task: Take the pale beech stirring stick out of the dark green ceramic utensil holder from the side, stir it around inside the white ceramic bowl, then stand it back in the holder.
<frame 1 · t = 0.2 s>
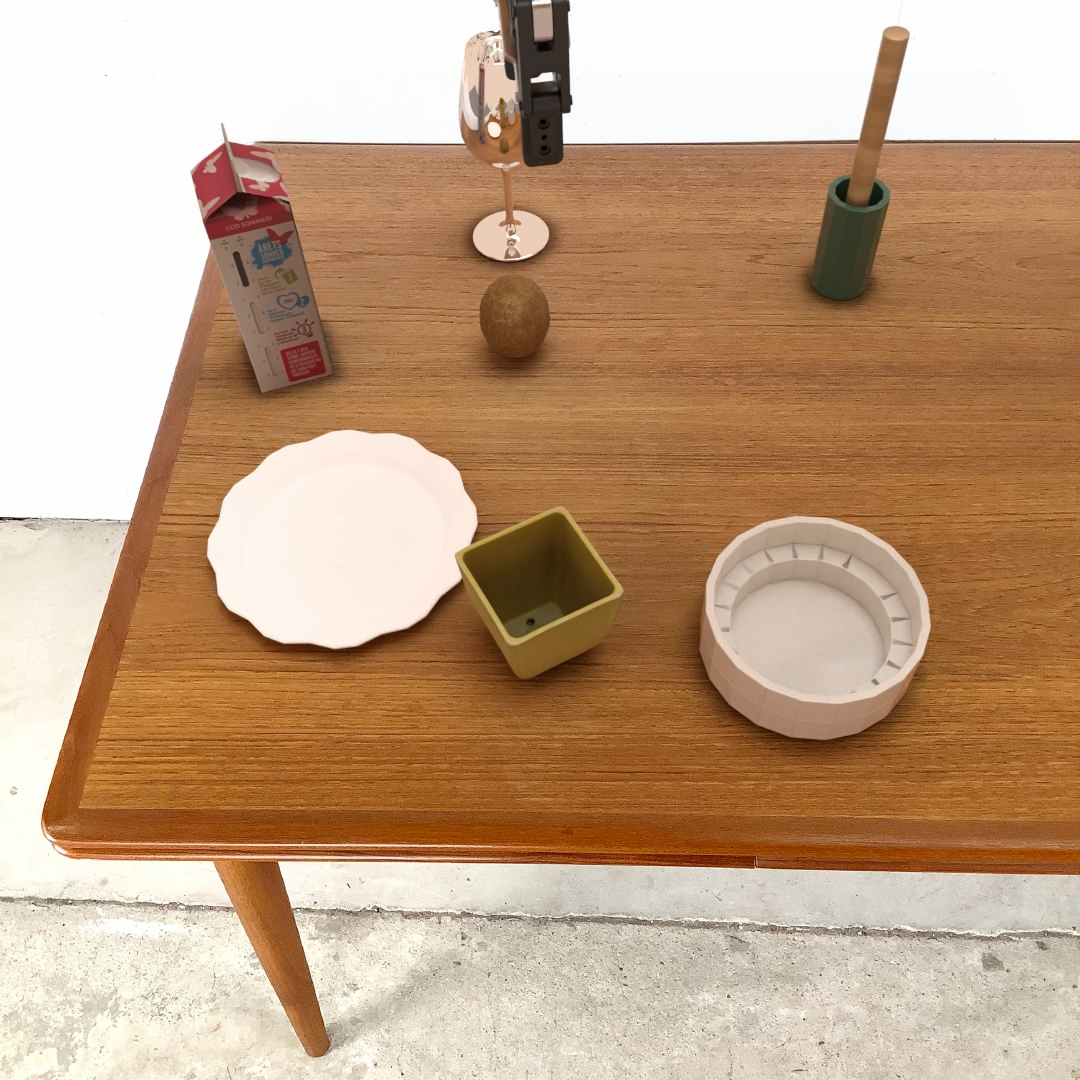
hand: (533, 117, 64), 34 cm above the table, tool pointing down, fingers open, 8 cm apart
fruit: (517, 351, 102), on the table
stirring stick: (839, 277, 105), resting on holder
holder: (838, 281, 105), on the table
juice carton: (291, 359, 102), on the table
bowl: (803, 648, 82), on the table
flower pot: (542, 640, 84), on the table
plate: (346, 544, 90), on the table
wineglass: (511, 238, 111), on the table
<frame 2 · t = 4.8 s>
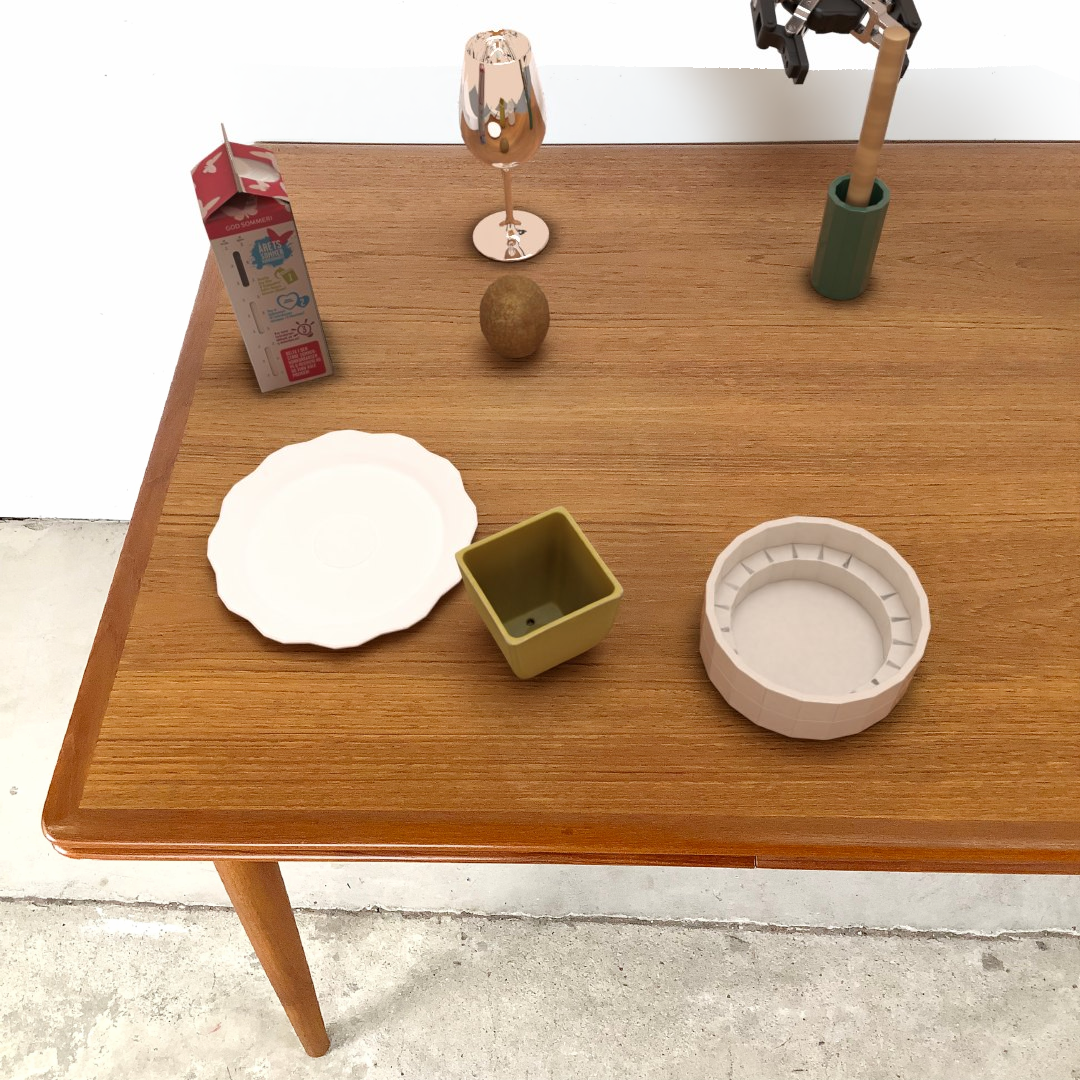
hand: (850, 77, 96), 16 cm above the table, tool horizontal, fingers open, 8 cm apart
nothing on the table moved.
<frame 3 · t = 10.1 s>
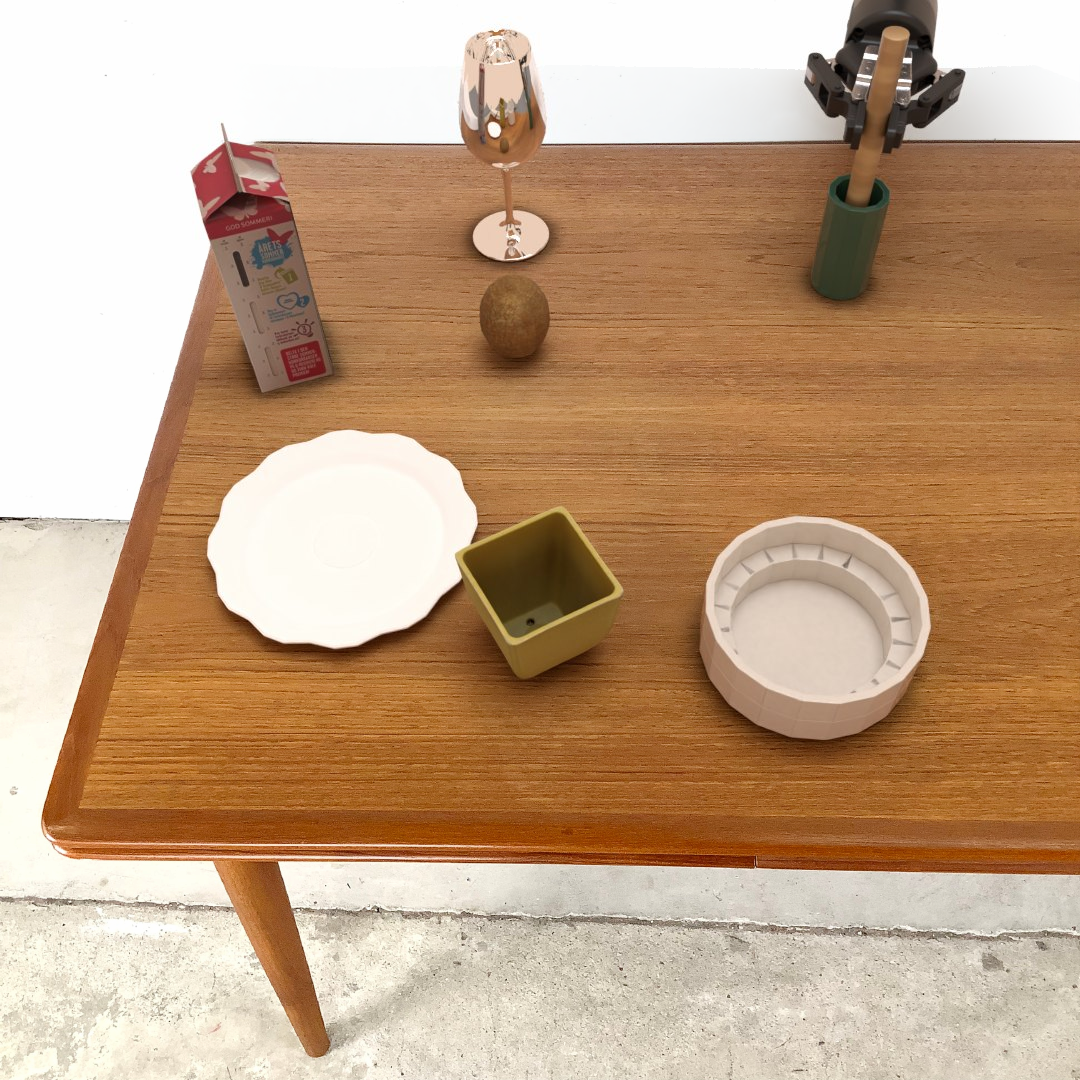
hand: (872, 141, 90), 17 cm above the table, tool horizontal, fingers closed on stirring stick, 2 cm apart
stirring stick: (839, 277, 105), point 1 cm above the table, touching gripper, holder
everything else where it was.
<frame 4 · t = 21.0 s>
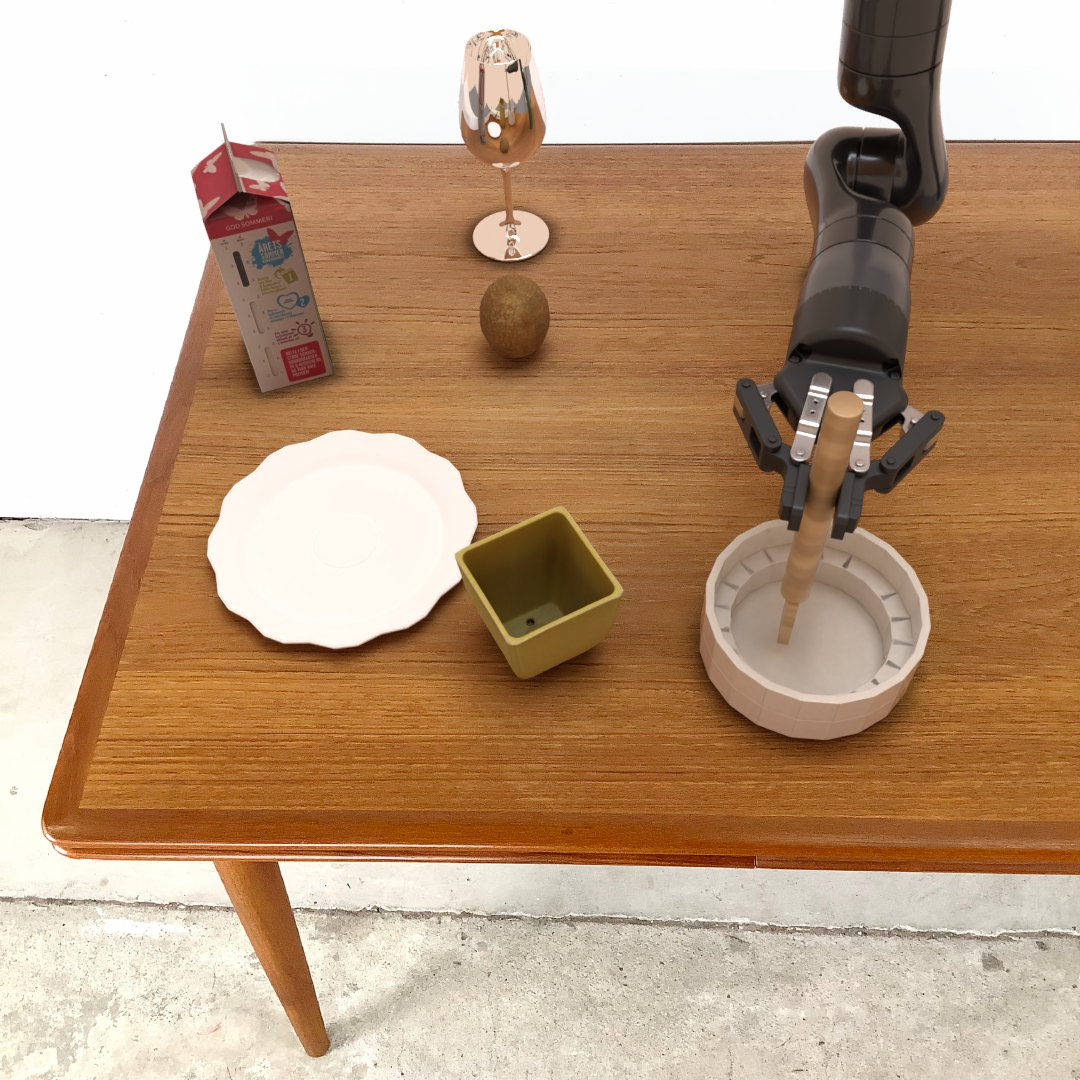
hand: (817, 526, 66), 18 cm above the table, tool horizontal, fingers closed on stirring stick, 2 cm apart
stirring stick: (784, 629, 81), point 2 cm above the table, touching gripper
everything else where it was.
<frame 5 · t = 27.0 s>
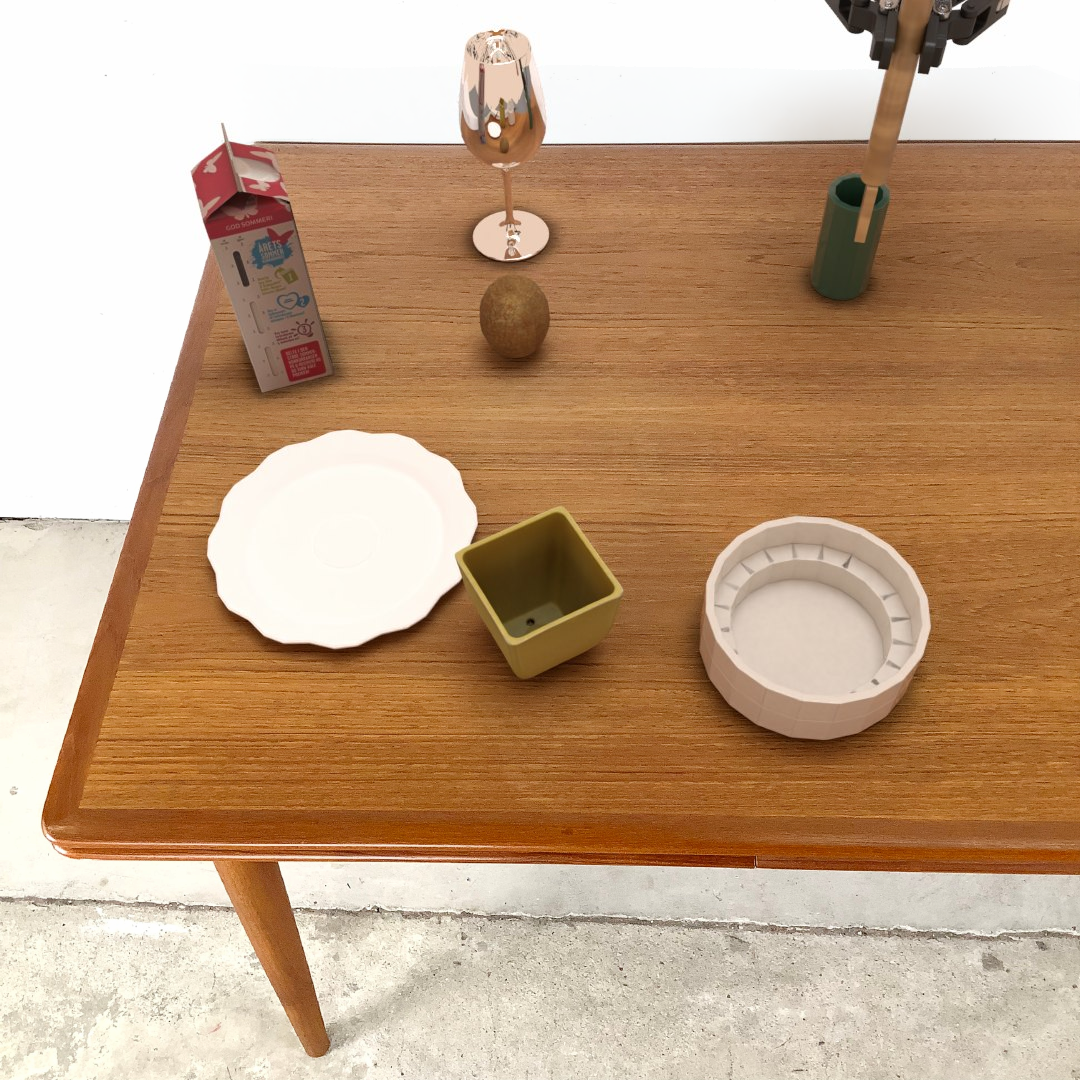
hand: (906, 58, 74), 30 cm above the table, tool horizontal, fingers closed on stirring stick
stirring stick: (860, 231, 89), point 13 cm above the table, touching gripper
everything else where it was.
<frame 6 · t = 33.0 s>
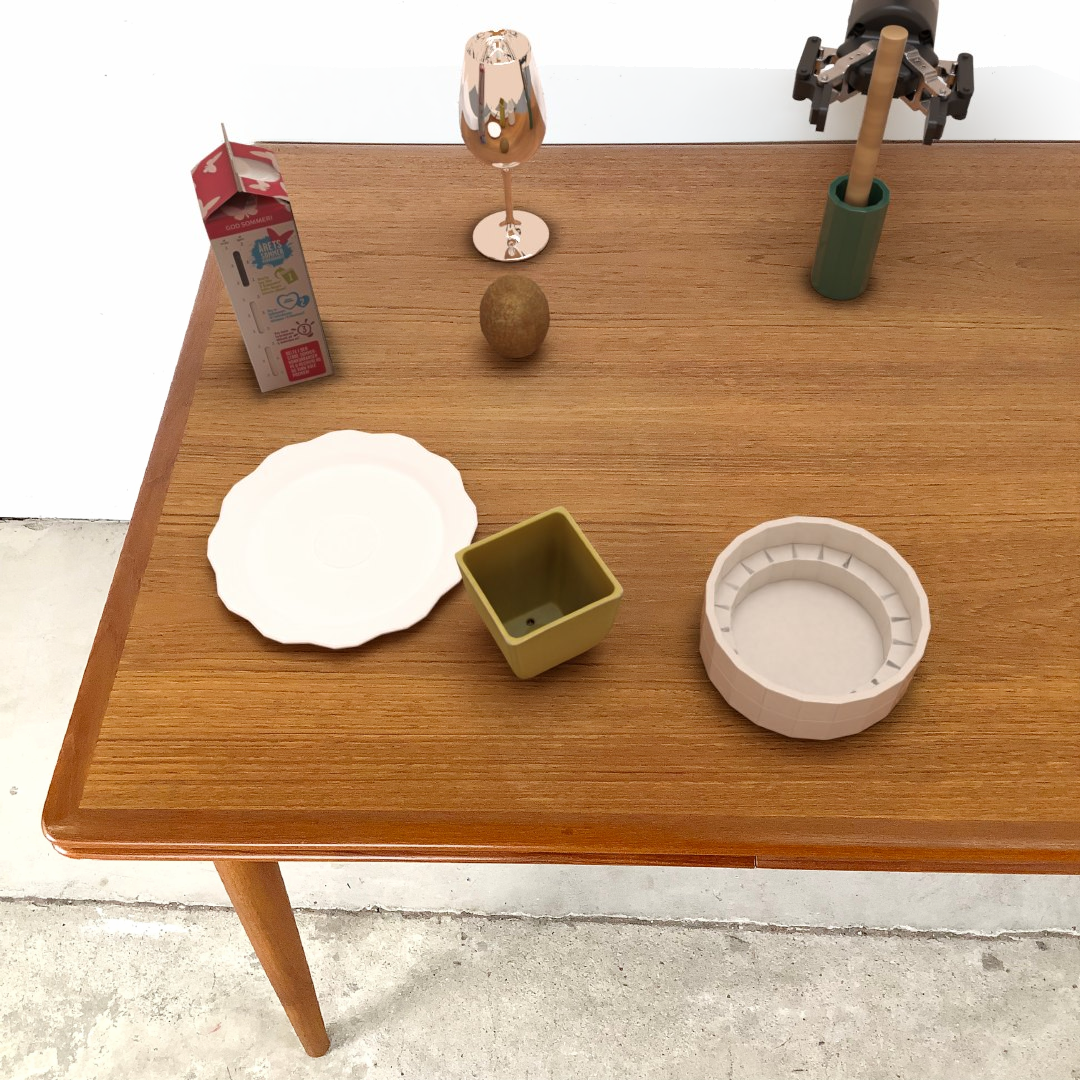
hand: (875, 129, 90), 17 cm above the table, tool horizontal, fingers open, 8 cm apart
stirring stick: (838, 276, 105), point 1 cm above the table, touching holder
everything else where it was.
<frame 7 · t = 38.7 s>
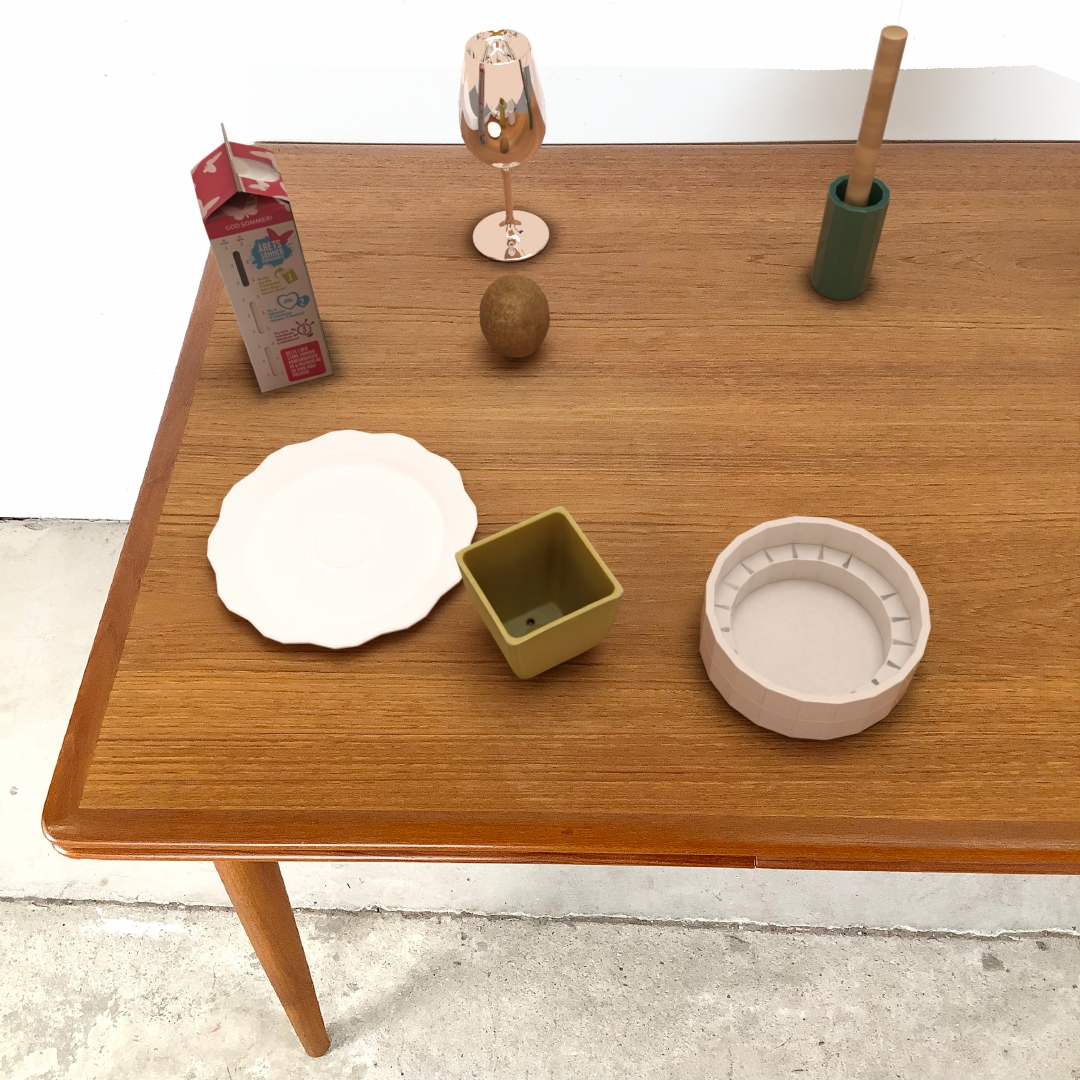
nothing on the table moved.
at the end: stirring stick 0.1 cm off-centre in the holder, point 0.5 cm above the holder's base; stirring stick tilted 0°; stirring stick touching holder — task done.
